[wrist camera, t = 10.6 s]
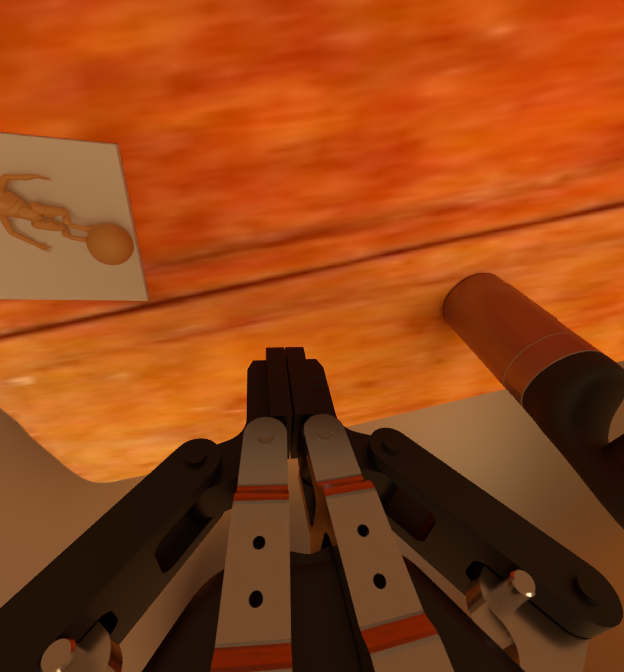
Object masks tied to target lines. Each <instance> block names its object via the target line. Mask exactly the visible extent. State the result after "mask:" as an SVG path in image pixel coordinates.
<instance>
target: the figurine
mask: <svg viewBox="0 0 624 672" xmlns="http://www.w3.org/2000/svg"><path fill="white" fill-rule="evenodd" d="M35 178H40V179H43V180H51V179H50V178H47V177H43V176H40V175H35V174H19V175H13V174H4V175H2V176H0V221H1V223H2V225H3V226H4V228H5V229H6V231H7V232H8V233H9V234H10V235H11V236H13V237H15V238H18V239H20V240H23V241H25V242H27V243H29V244H32V245H34V246H36V247H38V248H39V249H41V250H44V251H47V250H50V249H47V248H52V247H48V246H45V244H47V243H42V244H38V243H36V242H35V241H33V240H32V239H30V238H28V237H25V236H23V235H21V234H19V233H17V232H16V231H14V229H13V227H12V225H11V223H10V221H9V219H8V217H14V218H22V219H25V220H30V221H31V225H32V226H33V227H34V228H35V229H43V230H50V231H62V236H63V237H65V238H69V239H71V240H75V241H80V242H85V243H86V245H87V248H88V251H89V252H90V254H91V255H92V256H93V257H94V258H95V259H96V260H97V261H99V262H101V263H103V264H107V265H120V264H123V263H125V262H126V261H127V260H129V259H130V257H131V256H132V254H133V250H134V245H133V241H132V238H131V236H130V235H129V234H128V232H127V231H125V230H124V229H123V228H121V227H120V226H117V225H115V224H110V223H103V224H99V225H96V226H95V225H89V226H82V225H77V224H73V223H72V222H71V218H70V215H69V212H68V211H67V210H66V209H65V208H63V207H53V206H48V205H43V204H41V203H37V202H35V201H31V202H30V206H29V205H28V204H26V202H24V201H23V200H22V199H21V198H20V197H19V196H18V195H16V194H15V193H13V192H11V191H9V190H6V189H5V188H6V186H7V184H8V182H9V180H31V179H35ZM51 181H52V180H51ZM44 216H47V217H51V218H44ZM57 216H63V217H62V221H63V223H64V224H63V223H61V222H57V221H56V220H54V219H52V218H54V217H57ZM65 224H66V225H68V226H69V227H70V228H74V229H78V230H82V231H85V232H87V233H88V235H87V237H80V236H74V235H71V233H70V231H69V228H68V227H67V226H66V225H65ZM50 251H52V250H50ZM47 252H49V251H47Z"/></svg>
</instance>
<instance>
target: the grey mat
mask: <svg viewBox="0 0 624 672" xmlns="http://www.w3.org/2000/svg"><path fill="white" fill-rule="evenodd" d="M4 174H13V175H19V174H35V175H40V176H43V177H47V178H50V179H51V180H52V181H51V180H43V179H40V178H35V179H31V180H9V182H8V184H7V186H6V188H5V189H6V190H9V191H11V192H13V193H15V194H16V195H18V196H19V197H20V198H21V199H22V200H23V201H24V202H26V204H28V205H29V206H30V202H31V201H35V202H37V203H41V204H43V205H48V206H53V207H63V208H65V209H66V210H67V211H68V212H69V215H70V218H71V222H72V223H73V224H77V225H82V226H89V225H95V226H96V225H99V224H103V223H110V224H115V225H117V226H120V227H121V228H123V229H124V230H125V231H127V232H128V234H129V235H130V236H131V238H132V241H133V245H134V250H133V254H132V256H131V257H130V259H129V260H127V261H126V262H125V263H123V264H120V265H107V264H103V263H101V262H99V261H97V260H96V259H95V258H94V257H93V256H92V255H91V254H90V252H89V251H88V248H87V245H86V243H85V242H80V241H75V240H71V239H69V238H65V237H63V236H62V231H50V230H43V229H35V228H34V227H33V226H32V225H31V221H30V220H25V219H22V218H14V217H8V219H9V221H10V223H11V225H12V227H13V229H14V231H16V232H17V233H19V234H21V235H23V236H25V237H28V238H30V239H32V240H33V241H35V242H36V243H38V244H42V243H47V244H45V246H48V247H52V248H47V249H50V250H52V251H50V250H47V251H49V252H47V251H44V250H41V249H39V248H38V247H36V246H34V245H32V244H29V243H27V242H25V241H23V240H20V239H18V238H15V237H13V236H11V235H10V234H9V233H8V232H7V231H6V229H5V228H4V226H3V225H2V223H1V221H0V299H39V300H134V301H147V300H148V298H149V295H148V290H147V285H146V280H145V275H144V270H143V265H142V260H141V255H140V250H139V245H138V240H137V235H136V230H135V225H134V220H133V215H132V210H131V205H130V200H129V195H128V190H127V185H126V180H125V175H124V170H123V165H122V160H121V155H120V150H119V145H118V144H116V143H106V142H95V141H85V140H75V139H65V138H55V137H45V136H35V135H25V134H15V133H5V132H0V176H2V175H4ZM62 217H63V216H57V217H54V218H52V219H54V220H56V221H57V222H61V223H63V221H62ZM44 218H51V217H47V216H44ZM63 224H64V223H63ZM65 225H66V224H65ZM66 226H67V227H68V228H69V231H70V233H71V235H74V236H80V237H87V235H88V233H87V232H85V231H82V230H78V229H74V228H70V227H69V226H68V225H66Z"/></svg>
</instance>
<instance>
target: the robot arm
mask: <svg viewBox="0 0 624 672" xmlns="http://www.w3.org/2000/svg"><path fill="white" fill-rule="evenodd" d="M443 314H444V318H445V320H446V322H447V323H448V324H449V325H450V326H451V327H452V328H453V329H454V331H455V332H456V333H457V334H458V335H459V336H460V338H461V339H462V340H463V341H464V342H465V343H466V344H467V345H468V347H469V348H470V349H471V350H472V351H473V352H474V353H475V354H476V356H477V357H478V358H479V359H480V360H481V361H482V362H483V363H484V365H485V366H486V367H487V368H488V369H489V370H490V371H491V372H492V374H493V375H494V376H495V377H496V378H497V379H498V380H499V381H500V383H501V384H502V385H503V386H504V387H505V388H506V389H507V390H508V391H509V393H510V394H511V395H512V396H513V397H514V398H515V399H516V400H517V402H518V403H519V404H520V405H521V406H522V407H523V408H524V409H525V411H526V412H527V413H528V414H529V415H530V416H531V417H532V418H533V420H534V421H535V422H536V424H537V425H538V426H539V428H540V429H541V430H542V431H543V433H544V434H545V435H546V436H547V437H548V438H549V439H550V441H551V442H552V443H553V444H554V445H555V446H556V448H557V449H558V450H559V451H560V452H561V453H562V455H563V456H564V457H565V458H566V460H567V461H568V462H569V463H570V464H571V466H572V467H573V468H574V470H575V471H576V472H577V473H578V475H579V476H580V477H581V479H582V480H583V481H584V482H585V484H586V485H587V486H588V487H589V489H590V490H591V491H592V492H593V494H594V495H595V496H596V498H597V499H598V500H599V501H600V503H601V504H602V505H603V506H604V507H605V509H606V510H607V511H608V512H609V513H610V515H611V516H612V517H613V518H614V519H615V520H616V522H617V523H618V524H619V525H620V526H621V527H622V528H623V529H624V434H623V435H621V436H620V437H618V438H617V439H615V440H613V441H612V442H610V443H609V441H608V433H609V428H610V424H611V421H612V418H613V416H614V414H615V412H616V411H617V409H618V407H619V406H620V404H621V402H622V401H623V399H624V369H623V368H622V367H621V366H620V365H618V364H617V363H616V362H615V361H613V360H612V359H610V358H609V357H608V356H606V355H605V354H603V353H602V352H601V351H599V350H598V349H596V348H595V347H594V346H592V345H591V344H590V343H588V342H587V341H585V340H584V339H583V338H581V337H580V336H578V335H577V334H576V333H574V332H573V331H572V330H570V329H569V328H567V327H566V326H565V325H563V324H562V323H561V322H559V321H558V320H557V318H556V317H554V316H553V315H551V314H550V313H549V312H547V311H546V310H544V309H543V308H542V307H540V306H539V305H538V304H536V303H535V302H533V301H532V300H531V299H529V298H528V297H527V296H525V295H524V294H522V293H521V292H520V291H518V290H517V289H515V288H514V287H513V286H511V285H510V284H507V283H506V282H504V281H503V280H502V279H500V278H499V277H497V276H496V275H493V274H490V273H482V274H477V275H474V276H471V277H469V278H467V279H465V280H463V281H462V282H461V283H459V284H458V285H457V286H456V287H455V288H454V289H453V290H452V291H451V293H450V294H449V295H448V297H447V299H446V301H445V304H444V308H443ZM289 454H291V459H292V458H298V463H299V474H298V480H299V485H300V490H301V495H302V500H303V504H304V510H305V515H306V520H307V525H308V530H309V539H310V553H311V554H302V553H296V552H290V539H289V538H290V537H289V536H290V535H289V491H288V478H287V477H288V476H287V459H289ZM229 509H232V514H231V523H230V530H229V538H228V547H227V554H226V562H225V569H223V570H222V571H220V572H218V573H217V574H216V575H214V576H213V577H212V578H210V579H209V580H208V581H207V582H206V583H205V584H204V585H203V586H202V587H201V588H200V589H199V591H198V592H197V593H196V594H195V595H194V596H193V598H192V599H191V601H190V602H189V603H188V605H187V606H186V608H185V609H184V610H183V612H182V613H181V615H180V616H179V618H178V619H177V621H176V622H175V624H174V625H173V627H172V628H171V630H170V631H169V633H168V634H167V635H166V637H165V638H164V640H163V641H162V643H161V644H160V646H159V647H158V649H157V650H156V651H155V653H154V654H153V656H152V657H151V659H150V660H149V662H148V663H147V665H146V666H145V668H144V669H143V671H142V672H583V670H584V664H585V657H586V652H587V645H588V642H589V640H590V639H591V638H593V637H595V636H597V635H599V634H601V633H603V632H605V631H607V630H609V629H611V628H613V627H615V626H617V625H619V624H620V622H621V620H622V617H623V610H622V605H621V602H620V600H619V597H618V595H617V593H616V592H615V590H614V589H613V587H612V586H611V584H610V583H609V582H608V581H607V580H606V578H605V577H604V576H603V575H602V574H601V573H600V572H598V571H597V570H596V569H595V568H594V567H592V566H591V565H589V564H588V563H587V562H585V561H584V560H582V559H581V558H579V557H578V556H576V555H575V554H574V553H572V552H571V551H569V550H568V549H567V548H565V547H564V546H562V545H561V544H559V543H558V542H557V541H555V540H554V539H552V538H551V537H549V536H548V535H547V534H545V533H544V532H542V531H541V530H539V529H538V528H537V527H535V526H534V525H532V524H531V523H529V522H528V521H527V520H525V519H524V518H522V517H521V516H519V515H518V514H517V513H515V512H514V511H512V510H510V509H509V508H508V507H507V506H505V505H504V504H502V503H501V502H499V501H498V500H497V499H495V498H494V497H492V496H491V495H489V494H488V493H487V492H485V491H484V490H482V489H481V488H479V487H478V486H477V485H475V484H474V483H472V482H471V481H469V480H468V479H467V478H465V477H464V476H462V475H461V474H459V473H458V472H457V471H455V470H454V469H452V468H451V467H449V466H448V465H447V464H445V463H444V462H442V461H441V460H439V459H438V458H437V457H435V456H434V455H432V454H431V453H429V452H428V451H427V450H425V449H424V448H422V447H421V446H419V445H418V444H417V443H415V442H414V441H412V440H411V439H409V438H408V437H407V436H405V435H404V434H402V433H401V432H399V431H397V430H394V429H391V428H380V429H378V430H375V431H374V432H373V433H372V435H366V434H362V433H357V432H354V431H351V430H349V429H347V428H346V427H344V426H343V424H342V423H341V422H340V421H339V420H338V419H337V417H336V414H335V410H334V406H333V403H332V399H331V395H330V391H329V387H328V384H327V380H326V376H325V372H324V368H323V367H322V365H321V364H320V363H319V362H318V361H317V360H316V359H306V358H305V353H304V348H303V347H285V350H284V347H277V348H266V360H258V361H253V362H252V363H251V365H250V366H249V368H248V371H247V421H246V425H245V427H244V429H243V430H242V432H241V433H240V434H239V435H237V436H236V437H234V438H233V439H231V440H228V441H226V442H223V443H220V444H217V445H216V443H214V442H213V441H211V440H208V439H203V438H200V439H193V440H190V441H188V442H186V443H184V444H182V445H181V446H180V447H179V448H177V449H176V450H175V451H174V452H173V453H172V454H171V455H170V456H169V457H167V458H166V459H165V460H164V461H163V462H162V463H161V464H160V465H159V466H157V467H156V468H155V469H154V470H153V471H152V472H151V473H150V474H149V475H147V477H145V478H144V479H143V480H142V481H141V482H140V483H139V484H137V486H135V487H134V488H133V489H132V490H131V491H130V492H129V493H128V494H126V495H125V496H124V497H123V498H122V499H121V500H120V501H119V502H118V503H117V504H115V505H114V506H113V507H112V508H111V509H110V510H109V511H108V512H107V513H105V514H104V515H103V516H102V517H101V518H100V519H99V520H98V521H97V522H95V523H94V524H93V525H92V526H91V527H90V528H89V529H88V530H87V531H85V532H84V533H83V534H82V535H81V536H80V537H79V538H78V539H77V540H75V541H74V542H73V543H72V544H71V545H70V546H69V547H68V548H66V549H65V551H63V552H62V553H61V554H60V555H59V556H58V557H57V558H55V559H54V560H53V561H52V562H51V563H50V564H49V565H48V566H47V567H46V568H44V569H43V570H42V571H41V572H40V573H39V574H38V575H37V576H35V577H34V578H33V579H32V580H31V581H30V582H29V583H28V584H27V585H25V586H24V587H23V588H22V589H21V590H20V591H19V592H18V593H17V594H15V595H14V596H13V597H12V598H11V599H10V600H9V601H8V602H7V603H5V604H4V605H3V606H2V607H1V608H0V672H121V670H122V663H123V657H122V651H121V648H120V646H119V644H120V643H121V642H122V640H123V639H124V638H125V637H126V635H127V634H128V633H129V632H130V630H131V629H132V628H133V627H134V625H135V624H136V623H137V622H138V620H139V619H140V618H141V617H142V615H143V614H144V613H145V612H146V610H147V609H148V608H149V606H150V605H151V604H152V603H153V602H154V600H155V599H156V598H157V597H158V595H159V594H160V593H161V592H162V590H163V589H164V588H165V587H166V585H167V584H168V583H169V582H170V580H171V579H172V578H173V577H174V575H175V574H176V573H177V572H178V570H179V569H180V568H181V566H182V565H183V564H184V563H185V562H186V560H187V559H188V558H189V557H190V555H191V554H192V553H193V552H194V550H195V549H196V548H197V547H198V545H199V544H200V543H201V542H202V540H203V539H204V538H205V537H206V535H207V534H208V533H209V532H210V530H211V529H212V528H213V527H214V525H215V524H216V523H217V522H218V520H219V519H220V518H221V516H222V515H223V513H224V512H225V511H227V510H229ZM392 530H393V531H394V532H395V533H396V534H397V535H398V536H399V537H400V538H401V539H403V540H404V541H405V542H406V543H407V544H408V545H409V546H410V547H411V548H413V549H414V550H415V551H416V552H417V553H418V554H419V555H421V556H422V557H423V558H424V559H425V560H426V561H427V562H428V563H429V564H431V565H432V566H433V567H434V568H435V569H436V570H437V571H438V572H439V573H441V574H442V575H443V576H444V577H445V578H446V579H447V580H449V581H450V582H451V583H452V584H453V585H454V586H455V587H456V588H457V589H458V590H460V591H461V592H462V593H463V594H464V595H465V596H466V604H467V608H468V611H469V613H470V616H471V618H470V617H469V616H468V615H467V614H466V613H465V612H463V611H462V609H461V608H460V607H458V606H457V605H456V604H455V603H454V602H453V601H452V600H451V599H450V598H449V597H448V596H447V595H446V594H445V593H444V592H443V591H442V590H441V589H440V588H439V587H438V586H437V585H436V584H435V583H434V582H432V580H431V579H430V578H429V577H428V576H427V575H426V574H425V573H423V571H422V570H421V569H419V568H418V567H417V566H416V565H415V564H414V563H412V562H411V561H410V560H409V559H407V558H406V557H404V556H402V555H401V553H400V550H399V548H398V545H397V542H396V540H395V537H394V535H393V532H392Z"/></svg>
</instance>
